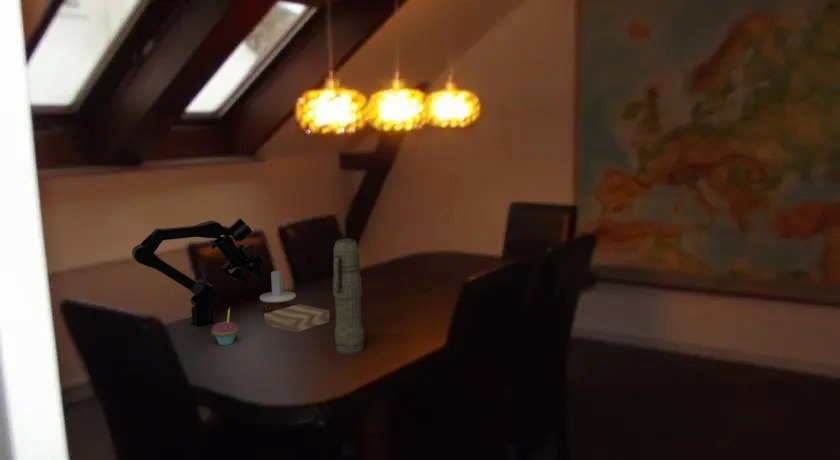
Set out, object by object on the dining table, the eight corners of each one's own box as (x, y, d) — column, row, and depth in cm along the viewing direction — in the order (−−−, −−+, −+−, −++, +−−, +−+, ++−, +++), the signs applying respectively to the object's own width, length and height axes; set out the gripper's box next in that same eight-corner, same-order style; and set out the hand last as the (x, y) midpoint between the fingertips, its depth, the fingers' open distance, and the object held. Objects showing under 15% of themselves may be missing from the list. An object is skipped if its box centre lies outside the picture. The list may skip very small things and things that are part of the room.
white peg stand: (288, 303, 267) (286, 275, 266) (254, 302, 270) (252, 275, 268) (300, 294, 280) (299, 268, 278) (268, 293, 282) (266, 267, 281)
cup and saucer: (286, 319, 269) (285, 302, 268) (256, 317, 272) (255, 301, 271) (300, 310, 280) (299, 294, 279) (271, 308, 283) (270, 293, 282)
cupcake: (241, 338, 246) (239, 303, 244) (236, 346, 238) (233, 310, 236) (215, 339, 246) (213, 304, 244) (209, 347, 238) (206, 311, 236)
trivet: (295, 332, 252) (294, 321, 251) (264, 324, 262) (264, 313, 261) (329, 321, 264) (329, 310, 263) (299, 314, 274) (298, 303, 273)
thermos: (370, 345, 236) (367, 237, 231) (353, 357, 226) (349, 243, 220) (346, 342, 240) (342, 235, 234) (328, 354, 229) (323, 242, 223)
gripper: (258, 232, 266) (283, 265, 272) (227, 239, 278) (251, 271, 284) (240, 252, 259) (266, 285, 265) (209, 259, 270) (234, 290, 277)
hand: (255, 282), depth 273 cm, fingers open, 9 cm apart
